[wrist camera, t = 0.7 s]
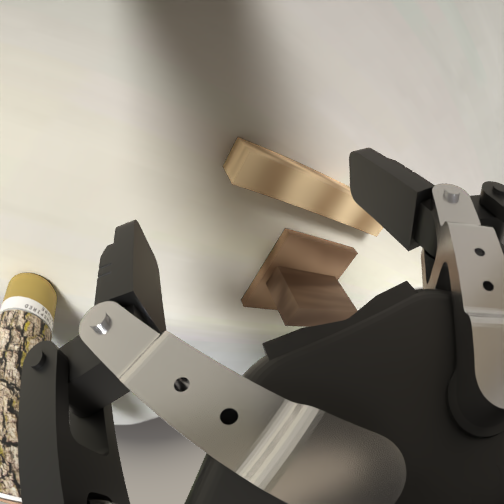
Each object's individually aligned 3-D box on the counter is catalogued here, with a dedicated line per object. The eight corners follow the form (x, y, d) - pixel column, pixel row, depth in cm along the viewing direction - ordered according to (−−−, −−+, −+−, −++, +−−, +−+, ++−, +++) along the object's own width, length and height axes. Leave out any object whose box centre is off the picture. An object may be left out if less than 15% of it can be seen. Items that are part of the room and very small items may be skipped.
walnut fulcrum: (285, 228, 35) (315, 275, 30) (353, 247, 41) (384, 287, 36) (241, 299, 41) (259, 348, 35) (308, 307, 47) (330, 347, 41)
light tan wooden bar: (222, 165, 29) (232, 184, 26) (237, 136, 27) (249, 151, 24) (359, 218, 39) (376, 236, 36) (373, 198, 37) (391, 215, 34)
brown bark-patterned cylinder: (22, 259, 27) (-13, 494, 9) (67, 290, 31) (65, 511, 13) (2, 290, 28) (-26, 493, 10) (43, 316, 33) (38, 510, 15)
